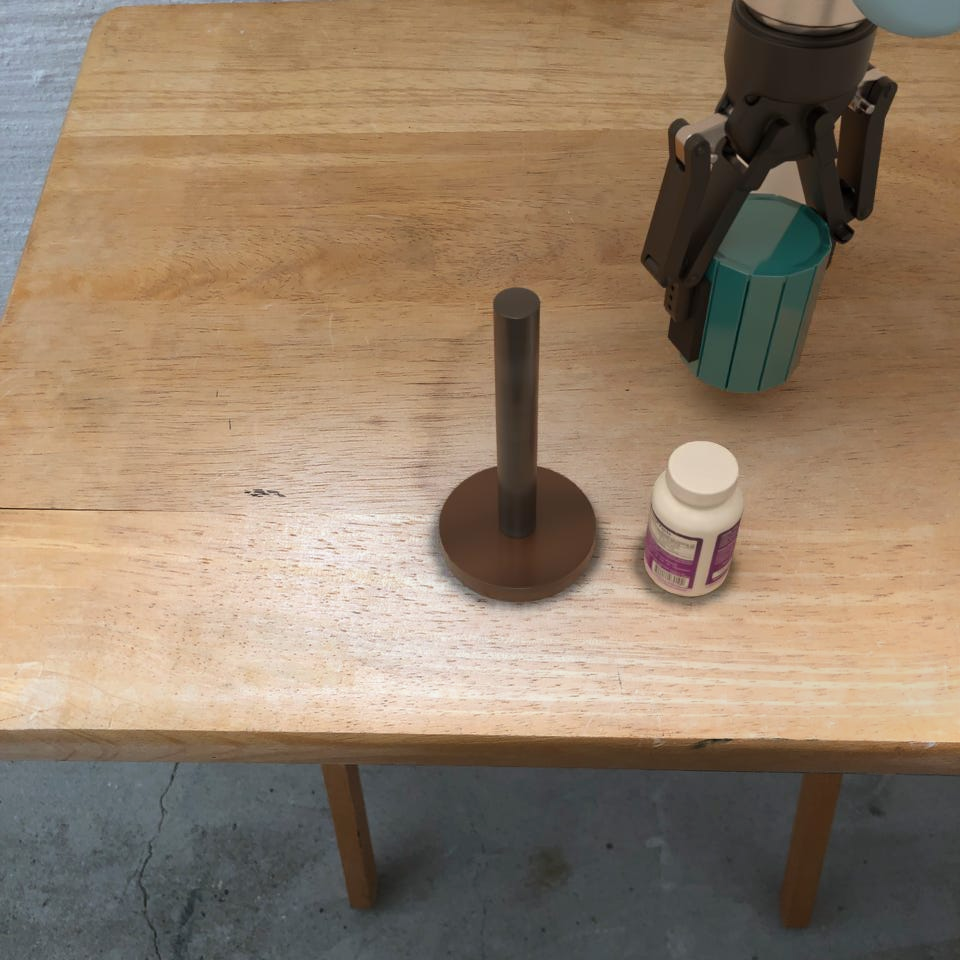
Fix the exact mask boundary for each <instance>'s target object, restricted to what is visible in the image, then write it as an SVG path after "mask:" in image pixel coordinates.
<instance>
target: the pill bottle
mask: <svg viewBox="0 0 960 960" xmlns="http://www.w3.org/2000/svg"><path fill="white" fill-rule="evenodd" d="M738 463H739V462H738V461H737V459H736V457H735V455H734V454H733V453H732V452H731V451H730V450H729V449H727V448H726V447H724V446H722V445H720V444H718V443H715V442H712V441H707V440H693V441H689V442H685V443H683V444H681V445H679V446H678V447H677V448H676V449H674V450H673V451H672V453H671V454H670V455H669V459H668V462H667V466H666V469H664V471H663V472H661V473H660V474H659V476H658V477H657V479H656V480H655V482H654V484H653V487H652V491H651V496H650V503H649V510H648V518H647V526H646V533H645V542H644V548H643V564H644V567H645V570H646V572H647V574H648V576H649V578H651V579H652V580H653V582H654V584H655V585H656V586H658V587H659V588H661V589H663V590H664V591H667V592H668V593H671V594H675V595H678V596H683V597H699V596H703V595H707V594H709V593H711V592H712V591H714V590H716V589H718V588H719V587H720V586H721V585H722V584H723V582H724V581H725V579H726V578H727V576H728V574H729V570H730V567H731V563H732V560H733V556H734V555H733V554H734V551H735V547H736V543H737V538H738V534H739V530H740V526H741V521H742V516H743V513H744V507H745V496H744V492H743V489H742V487H741V485H740V483H739V474H740V468H739V464H738Z"/></svg>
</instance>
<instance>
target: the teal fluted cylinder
mask: <svg viewBox="0 0 960 960" xmlns="http://www.w3.org/2000/svg"><path fill="white" fill-rule="evenodd" d="M827 225H828V224H827V223H826V222H825V221H824V220H823V219H822V218H821V217H820V216H819V215H818V214H817V213H816V212H815V211H814V210H812V209H811V208H810V207H807V206H806V205H805V204H802V203H800V202H797V201H794V200H792V199H789V198H786V197H783V196H781V195H778V196H777V195H775V194H762V193H749V195H748V197H747V199H746V200H745V202H744V204H743V206H742V207H741V209H740V211H739V213H738V215H737V216H736V218H735V220H734V222H733V224H732V225H731V227H730V229H729V231H728V232H727V234H726V236H725V238H724V240H723V241H722V243H721V245H720V247H719V249H718V250H717V252H716V254H715V256H714V257H713V259H712V261H711V263H710V265H709V266H708V268H707V270H706V272H705V274H704V275H705V276H706V277H707V278H708V279H709V280H710V282H711V283H712V285H711V291H710V297H709V303H708V309H707V314H706V320H705V326H704V331H703V337H702V343H701V349H700V354H699V359H698V360H696V361H693V362H690V363H688V362H687V360H686V359H685V358H684V357H683V356H682V354H681V353H680V352H679V351H678V352H679V358H680V360H681V362H682V364H684V365H685V367H686V368H687V370H689V372H690V373H691V374H692V375H693V377H695V378H697V380H698V381H701V382H703V383H704V384H707V385H709V386H712V387H713V388H716V389H718V390H720V391H723V392H724V391H725V390H726V392H727V393H739V394H740V393H741V394H757V393H758V394H760V393H763V392H766V391H768V390H772V389H775V388H777V387H779V386H782V385H784V384H785V383H787V382H788V381H789V379H790V378H791V376H792V375H793V374H794V373H795V371H796V370H797V369H798V367H799V366H800V362H801V358H802V355H803V352H804V348H805V344H806V341H807V337H808V333H809V330H810V326H811V324H812V320H813V316H814V313H815V310H816V309H815V308H816V305H817V303H818V298H819V294H820V291H821V288H822V284H823V281H824V277H825V273H826V271H827V270H826V266H827V263H828V259H829V256H830V252H831V248H832V244H831V237H830V231H829V227H828V226H827ZM825 270H826V271H825Z"/></svg>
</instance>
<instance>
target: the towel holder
mask: <svg viewBox="0 0 960 960" xmlns="http://www.w3.org/2000/svg"><path fill="white" fill-rule="evenodd" d="M492 313H493V314H492V323H493V359H494V360H493V364H494V366H493V367H494V403H495V406H494V407H495V442H496V443H495V447H496V465H495V466H491V467H487V468H484V469H482V470H480V471H478V472H475V473H474V474H472V475H470V476H468V477H467V478H465V479H464V480H463V481H461V482H460V483H459V484H458V485H457V486H456V487H454V489H453V490H452V491H451V492H450V494H449V495H448V496H447V498H446V500H445V502H444V503H443V506H442V508H441V511H440V515H439V519H438V533H439V544H440V545H439V546H440V551H441V555H442V558H443V560H444V562H445V564H446V566H447V568H448V569H449V571H450V573H451V574H453V576H454V577H455V578H456V579H457V580H458V581H459V582H460V583H461V584H463V585H464V586H465V587H467V588H468V589H470V590H471V591H473V592H475V593H477V594H479V595H481V596H483V597H486V598H489V599H492V600H496V601H500V602H509V603H526V602H534V601H539V600H543V599H546V598H549V597H552V596H554V595H556V594H559V593H560V592H562V591H564V590H565V589H567V588H569V587H570V586H571V585H573V584H574V583H575V582H576V581H577V580H578V579H579V578H580V577H581V576H582V575H583V574H584V572H585V571H586V570H587V568H588V567H589V564H590V562H591V560H592V558H593V555H594V551H595V544H596V535H597V521H596V515H595V511H594V508H593V506H592V503H591V502H590V499H588V497H587V495H586V494H585V493H584V492H583V489H581V488H580V487H579V486H578V485H577V484H576V483H575V482H573V481H572V480H571V479H570V478H568V477H566V476H565V475H563V474H561V473H560V472H557V471H555V470H552V469H550V468H546V467H544V466H540V465H538V450H539V449H538V447H539V446H538V445H539V443H538V441H539V398H540V397H539V395H540V394H539V392H540V391H539V389H540V388H539V387H540V386H539V385H540V339H541V338H540V336H541V335H540V334H541V300H540V296H539V295H538V294H537V293H536V292H534V291H533V290H531V289H529V288H526V287H522V286H521V287H520V286H512V287H508V288H505V289H502V290H501V291H499V292H498V293H496V295H495V296H494V297H493V299H492Z"/></svg>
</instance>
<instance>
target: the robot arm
mask: <svg viewBox="0 0 960 960" xmlns="http://www.w3.org/2000/svg"><path fill="white" fill-rule="evenodd" d="M879 28H880V29H882V30H884V31H886V32H888V33H891V34H894V35H897V36H902V37H906V38H914V39H934V38H935V39H936V38H941V37H946V36H950V35H953V34H954V33H955V34H956V33H958V32H959V31H960V0H732V2H731V8H730V13H729V20H728V27H727V34H726V41H725V44H724V45H725V47H724V51H723V64H724V73H725V81H726V82H725V89H724V91H723V93H722V95H721V97H720V99H719V100H718V102H717V104H716V106H715V109H714V112H713V114H712V115H709V116H708V117H705V118H703V119H701V120H698V121H696V122H695V123H692V124H690V123H689V122H688V121H687V120H686V119H685V118H683V117H678V118H676V119H675V120H674V121H672V122H671V123H670V125H669V126H668V129H667V141H668V160H667V164H666V167H665V171H664V173H663V177H662V180H661V185H660V188H659V192H658V195H657V198H656V201H655V205H654V210H653V212H652V216H651V220H650V223H649V226H648V229H647V234H646V238H645V241H644V245H643V248H642V251H641V254H640V258H639V261H640V263H641V265H642V266H643V267H644V268H645V270H647V272H648V273H649V274H650V275H651V277H653V279H654V280H655V281H656V282H657V283H658V285H659V286H660V287H661V288H663V289H665V290H664V297H663V298H664V299H663V307H664V310H665V312H667V313H668V315H669V316H670V317H669V324H668V331H667V339H668V340H669V342H670V343H671V344H672V345H673V346H674V347H675V349H676V350H677V351H678V352H680V353H681V354H682V356H683V357H684V358H685V359H686V360H687V362H688V363H690V362H693V361H696V360H698V359H699V354H700V349H701V343H702V337H703V331H704V326H705V320H706V314H707V309H708V303H709V297H710V291H711V285H712V283H711V282H710V280H709V279H708V278H707V277H706V276H705V275H704V274H705V272H706V270H707V268H708V266H709V265H710V263H711V261H712V259H713V257H714V256H715V254H716V252H717V250H718V249H719V247H720V245H721V243H722V241H723V240H724V238H725V236H726V234H727V232H728V231H729V229H730V227H731V225H732V224H733V222H734V220H735V218H736V216H737V215H738V213H739V211H740V209H741V207H742V206H743V204H744V202H745V200H746V199H747V197H748V195H749V193H750V192H751V191H757V190H758V189H759V188H760V187H761V185H762V184H763V182H764V180H765V178H766V177H767V175H768V173H769V171H770V169H773V168H775V167H777V166H779V165H781V164H782V163H784V162H789V161H796V164H797V168H798V172H799V176H800V181H801V185H802V189H803V193H804V197H805V202H806V206H807V207H810V208H811V209H812V210H814V211H815V212H816V213H817V214H818V215H819V216H820V217H821V218H822V219H823V220H824V221H825V222H826V223H827V224H828V225H827V226H828V227H829V231H830V237H831V244H832V248H831V252H830V256H829V259H828V263H827V266H826V270H825V272H826V271H827V270H828V269H829V267H830V266H831V264H832V260H833V256H834V254H835V253H834V251H835V249H836V246H837V243H838V244H839V245H845V244H848V243H849V242H850V241H851V240H852V239H853V237H854V236H855V233H856V232H855V231H856V230H855V229H853V227H851V226H850V225H849V224H848V223H850V222H852V221H854V220H857V221H858V222H862V221H865V220H868V218H869V217H870V216H871V214H872V213H873V211H874V206H875V199H876V198H875V197H876V190H877V183H878V176H879V168H880V161H881V153H882V145H883V138H884V131H885V123H886V117H887V115H888V114H889V111H890V109H891V106H892V104H893V101H894V99H895V97H896V94H897V92H898V89H899V85H898V83H897V82H896V81H895V80H893V79H892V78H890V77H889V76H888V75H886V74H885V73H884V72H883V71H881V70H880V69H879V68H877V67H876V66H875V65H873V64H872V63H871V62H870V60H871V55H872V53H873V49H874V45H875V40H876V36H877V33H878V29H879ZM839 119H840V124H839V134H838V135H839V136H838V144H837V141H836V137H835V136H836V135H835V129H836V123H837V121H838V120H839ZM837 145H838V146H837ZM737 155H738V156H739V157H740V158H741V159H742V160H743V161H744V162H745V163H746V164H748V165H749V166H748V168H747V167H746V166H745V165H744V164H743V163H742V162H741V161H740V160H739V159H738V158H737Z"/></svg>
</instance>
